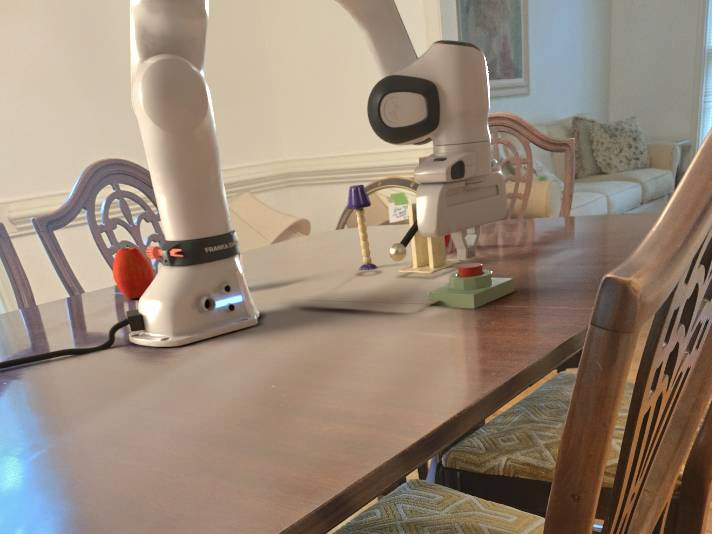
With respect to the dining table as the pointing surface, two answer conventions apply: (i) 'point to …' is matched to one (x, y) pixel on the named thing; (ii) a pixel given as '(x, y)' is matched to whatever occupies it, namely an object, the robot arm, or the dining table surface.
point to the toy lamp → (361, 221)
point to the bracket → (426, 250)
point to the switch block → (471, 290)
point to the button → (470, 270)
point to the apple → (132, 272)
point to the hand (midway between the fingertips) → (466, 258)
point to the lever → (403, 244)
